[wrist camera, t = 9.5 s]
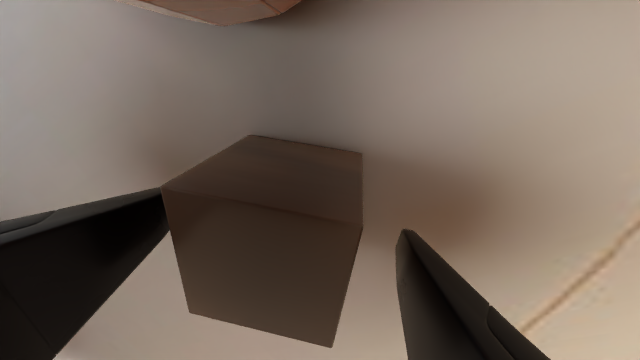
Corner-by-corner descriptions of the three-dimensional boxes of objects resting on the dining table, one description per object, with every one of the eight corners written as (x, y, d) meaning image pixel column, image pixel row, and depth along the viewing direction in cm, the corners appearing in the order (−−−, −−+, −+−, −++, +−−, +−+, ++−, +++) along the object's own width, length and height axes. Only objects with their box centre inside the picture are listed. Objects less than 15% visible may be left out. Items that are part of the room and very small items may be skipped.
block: (251, 224, 12) (188, 313, 8) (249, 134, 10) (158, 186, 5) (343, 243, 12) (332, 349, 7) (362, 153, 9) (363, 226, 5)
